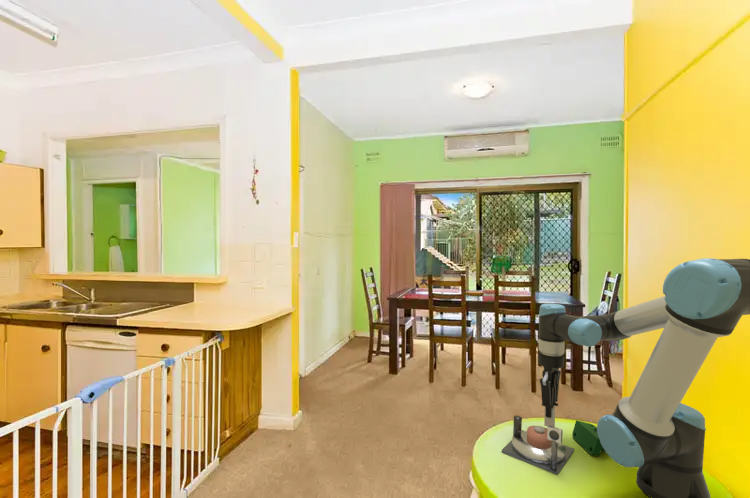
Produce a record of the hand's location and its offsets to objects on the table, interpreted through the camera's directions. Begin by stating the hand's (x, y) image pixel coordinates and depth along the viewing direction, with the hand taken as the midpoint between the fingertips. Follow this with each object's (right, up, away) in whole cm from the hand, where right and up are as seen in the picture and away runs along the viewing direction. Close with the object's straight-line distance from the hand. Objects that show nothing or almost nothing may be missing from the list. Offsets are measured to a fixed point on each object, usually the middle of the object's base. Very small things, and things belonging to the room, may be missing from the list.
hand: (549, 425), depth 124 cm
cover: (-6, -3, -5) cm, 8 cm away
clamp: (+12, -6, -3) cm, 14 cm away
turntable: (-6, -5, -6) cm, 10 cm away
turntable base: (-6, -5, -6) cm, 10 cm away
